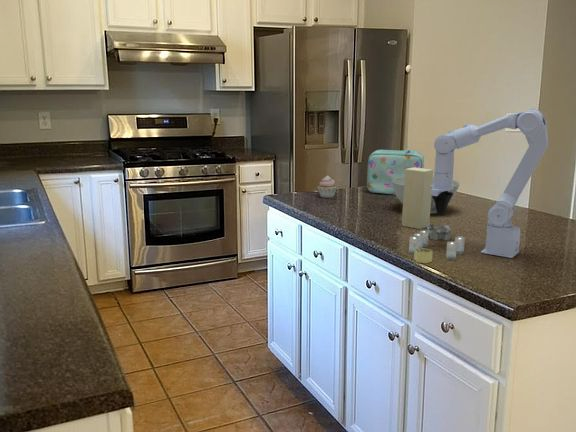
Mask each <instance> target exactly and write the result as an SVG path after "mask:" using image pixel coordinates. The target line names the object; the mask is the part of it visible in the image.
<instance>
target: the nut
mask: <svg viewBox="0 0 576 432" xmlns="http://www.w3.org/2000/svg"><path fill="white" fill-rule="evenodd" d="M433 254H434V253H433V250H432V249H430V248H426V247H422V248H418V249H415V250H414V254H413V260H414V261H415V262H416V263H419V264H421V263H422V264H428V263H432V262H433Z"/></svg>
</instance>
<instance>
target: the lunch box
mask: <svg viewBox="0 0 576 432" xmlns="http://www.w3.org/2000/svg"><path fill="white" fill-rule="evenodd" d="M367 160H368V161H367V176H366V177H367V178H366V186H367V190H368V191H369V192H370V193H372V194H383V195H393V196H396V194H395V192H394V190H393V187H392V180H393V179H395V178H399V177H405V169H408V168H413V167H416V168H424V169H426V168H425V166H424V165H425V158H424V155H423V153H421V152H420V151H418V150H417V151H416V150H412V149H411V148H409V149H406V150H405V149H404V150H395V149H392V150H391V149H377V150H374V151H373V152H372V153H371V154H370V155H369V157H368V159H367Z"/></svg>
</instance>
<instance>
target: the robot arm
mask: <svg viewBox="0 0 576 432" xmlns="http://www.w3.org/2000/svg"><path fill="white" fill-rule="evenodd" d="M547 124H548V122H547V120H546V118H545V116H544V114H543V113H542V112H541V110H538V109H535V108H534V109H533V108H531V109H528V110H524V111H520V112H515V113H510V114H506V115H503V116H502V117H500V118H497V119H494V120H492V121H489V122H486V123H483V124H481V125H478V126H477V125H474V124H473V123H472V124H468V123H466V124H463V125H462V127H461V128H457V129H456V130H452V129H451V130H449V131H448V133H446V134H440V135H439V136H438V137H436V139H434V142H433V147H434V150H435V158H434V170H433V177H434V185H430V188H432V189H431V196H432V197H433V199H434V202H435V206H436V211H437V213H436V215H437V216H445V215H446V212H447V209H448V204H449V203H450V202H451V201H450V199H451V197H452V196H453V193H452V192H448V191H449V190H453V188H454V184H452V181H453V180H454V178H453V177H454V162H455V150H456V149H457V150H460V149H462V148H465V147H468V146H471V145H474V144H476V143H478V142H479V141H480V139H481V137H483V136H486V135H488V134H491V133H494V132H498V131H501V130H503V129H510V130H517V129H518V130H519V131H520V132H521V133H522V134H523V135H524V136H525V139H526V141H527V144H528V148H527V149H526V151H525V153H524V154H523V156H522V158H521V160H520V162H519V163H518V165H517V167H516V169H515V171H514V173H513V175H512V176H511V178H510V179H509V182H508V183H507V185H506V187H505V188H504V191H503V193H502V194H501V195H500V197H499V199H498V200H497V201H496V202H495V204H494V205H493V206H492V207H490V208H489V210H488V211H487V220H488V221H487V225H486V238H485V239H486V240H485V247H484V248H483V249H482V250H481V251H480V254H486V255H493V256H498V257H504V258H508V259H509V258H510V259H513V258H514V257H515V256H517V255H518V254H519V253H520V241H521V228H520V227H519V226H514V225H513V222H512V220H511V218H512V217H513V216H514V214H515V206H516V204H517V203H518V200H519V199H520V196H521V194H522V193H523V191H524V189H525V188H526V185H527V184H528V182H529V181H530V178H531V177H532V175H533V173H534V172H535V170H536V168H537V166H538V165H539V163H540V161H541V159H542V158H543V156H544V154H545V152H546V151H547V149H548V146H549V136H548V125H547ZM449 201H450V202H449Z"/></svg>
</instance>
